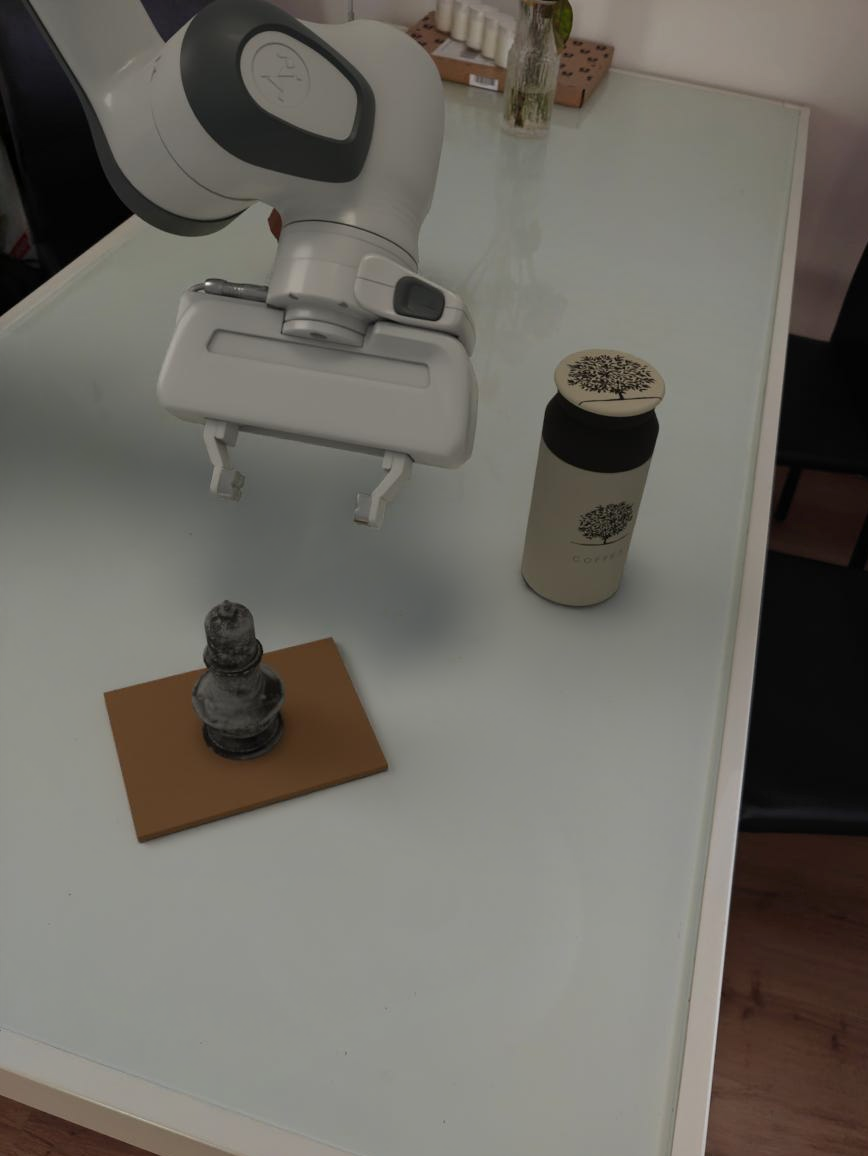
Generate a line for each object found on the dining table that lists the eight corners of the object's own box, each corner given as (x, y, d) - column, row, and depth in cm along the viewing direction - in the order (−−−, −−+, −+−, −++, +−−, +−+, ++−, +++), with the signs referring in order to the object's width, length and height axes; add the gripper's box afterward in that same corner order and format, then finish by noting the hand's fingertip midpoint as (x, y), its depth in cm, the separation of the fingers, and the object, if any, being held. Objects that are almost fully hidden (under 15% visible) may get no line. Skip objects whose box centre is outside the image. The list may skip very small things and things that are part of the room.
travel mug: (516, 538, 84) (544, 343, 71) (611, 540, 85) (657, 347, 71) (525, 608, 78) (558, 411, 65) (627, 609, 79) (680, 415, 66)
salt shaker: (181, 719, 68) (154, 591, 59) (258, 680, 71) (243, 551, 62) (227, 779, 65) (206, 653, 56) (305, 735, 68) (297, 609, 59)
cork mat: (138, 843, 62) (137, 837, 62) (104, 698, 69) (103, 692, 69) (388, 769, 67) (388, 764, 67) (332, 641, 75) (332, 636, 74)
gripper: (165, 252, 63) (118, 471, 63) (489, 304, 60) (441, 533, 60) (205, 292, 69) (161, 492, 69) (500, 341, 67) (457, 548, 66)
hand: (294, 511), depth 64 cm, fingers open, 8 cm apart
